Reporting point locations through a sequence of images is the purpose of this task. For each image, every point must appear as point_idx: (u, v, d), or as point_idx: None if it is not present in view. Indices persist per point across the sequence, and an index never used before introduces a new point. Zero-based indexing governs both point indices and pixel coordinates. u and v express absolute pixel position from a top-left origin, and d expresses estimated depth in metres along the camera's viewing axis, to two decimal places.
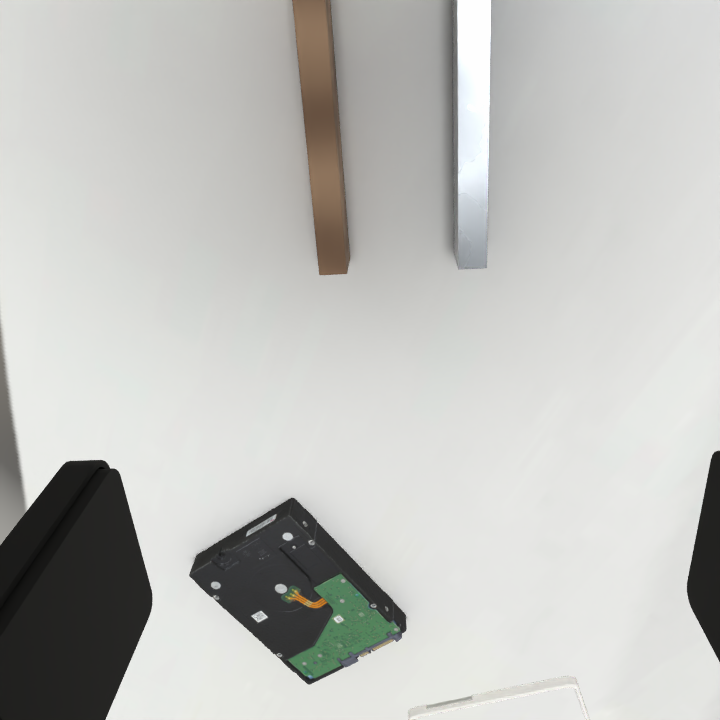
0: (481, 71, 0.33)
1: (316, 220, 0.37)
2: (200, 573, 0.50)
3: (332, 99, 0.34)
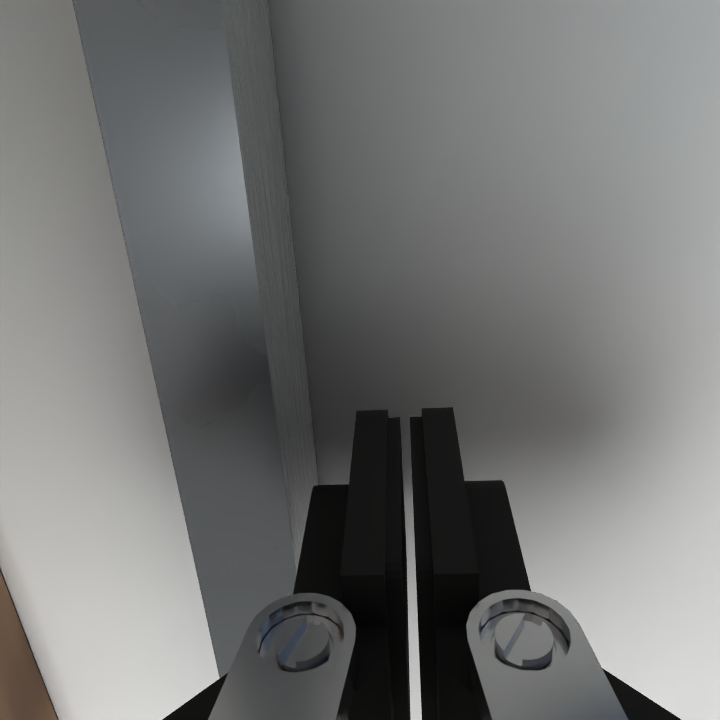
0: (256, 484, 0.10)
1: None
2: None
3: None
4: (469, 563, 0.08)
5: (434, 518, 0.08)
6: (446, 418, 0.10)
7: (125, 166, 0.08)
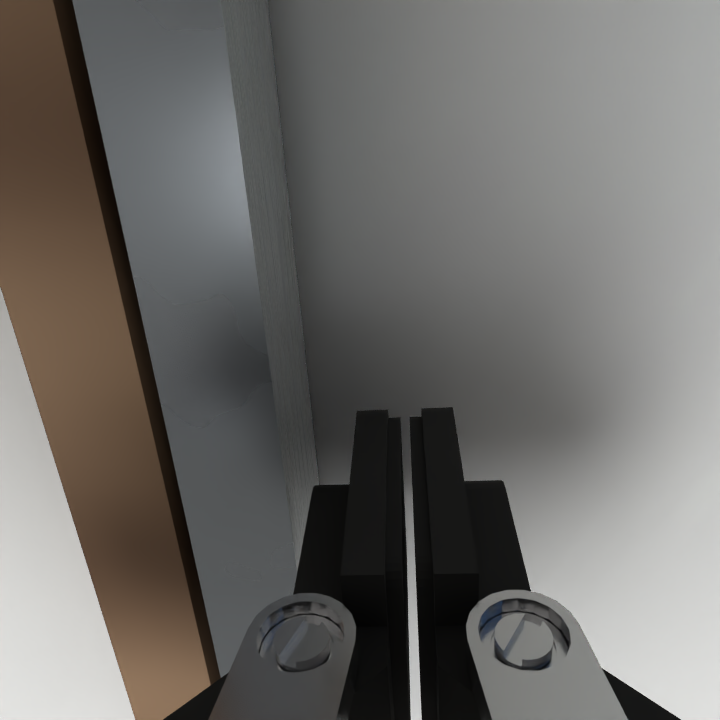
0: (258, 484, 0.10)
1: None
2: None
3: (172, 517, 0.10)
4: (469, 563, 0.08)
5: (434, 518, 0.08)
6: (446, 418, 0.10)
7: (125, 165, 0.08)
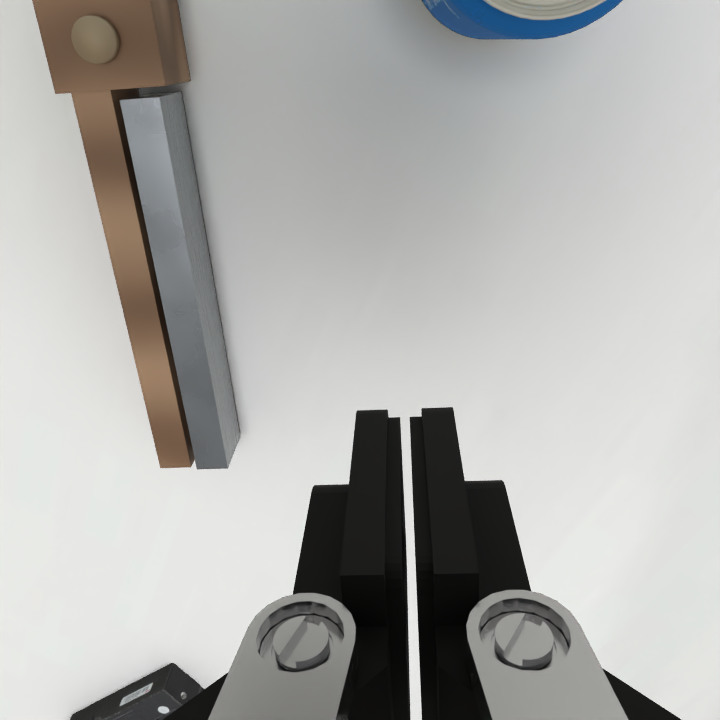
0: (183, 276, 0.29)
1: (150, 414, 0.33)
2: None
3: (153, 292, 0.30)
4: (469, 563, 0.08)
5: (434, 518, 0.08)
6: (446, 418, 0.10)
7: (139, 170, 0.27)
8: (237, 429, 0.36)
